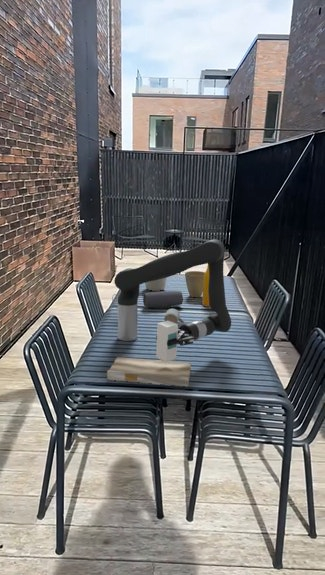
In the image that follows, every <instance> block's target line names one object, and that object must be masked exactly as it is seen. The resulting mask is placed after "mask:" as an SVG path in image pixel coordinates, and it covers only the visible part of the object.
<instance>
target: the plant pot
mask: <svg viewBox="0 0 325 575" xmlns="http://www.w3.org/2000/svg"><path fill="white" fill-rule="evenodd" d="M205 272H206V271H199V270H193V271H192V270H191V271H186V272H184V278H185V283H186V288H187V291H188V295H189V297H190V296H191V297H190V298H193V297H199V298H201V297H202V296H203V281H204V274H205Z"/></svg>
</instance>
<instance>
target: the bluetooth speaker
mask: <svg viewBox="0 0 325 575" xmlns="http://www.w3.org/2000/svg"><path fill="white" fill-rule="evenodd" d="M142 297H143V298H142V302H143V306H144V307H145V308H154V309H155V308H160V309H168V308H167V307H171V308H172V307H175V306H181V305H183V303H184V298H183V292H182V291H181V290H168V291H167V290H166V291H164V290H162V291H150V292H145V293H143V296H142Z"/></svg>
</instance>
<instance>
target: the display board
mask: <svg viewBox="0 0 325 575" xmlns="http://www.w3.org/2000/svg"><path fill="white" fill-rule="evenodd" d="M191 365H192V363H191V362H185V361H184V362H183V361H182V362H180V361H172V360H171V361H168V362H164V361H162V360H160V359H159V360H157V359H142V358H135V357H134V358H131V357H121V356H120V357H119V356H117V357H116V358H115V360H114V362H113V364H112V365H111V367H110V369H108V370H107V371H106V372H107V376H106V377H107V378H106V379H107V381H114V380H116V382H126V381H128V383H137V382H140V383H139V384H148V383H152V384H151V385H160V384H165V385H164V386H171V385H175V386H174V387H183V386H185V387H184V388H189V385H190V384H189V383H190V378H191V377H190V376H191V371H192V370H191V369H192V366H191Z"/></svg>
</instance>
